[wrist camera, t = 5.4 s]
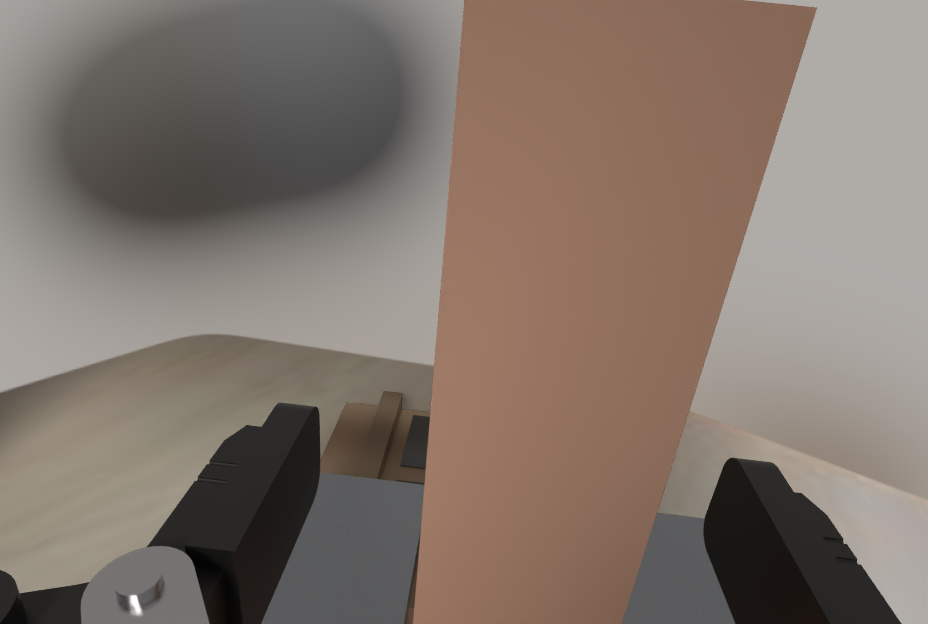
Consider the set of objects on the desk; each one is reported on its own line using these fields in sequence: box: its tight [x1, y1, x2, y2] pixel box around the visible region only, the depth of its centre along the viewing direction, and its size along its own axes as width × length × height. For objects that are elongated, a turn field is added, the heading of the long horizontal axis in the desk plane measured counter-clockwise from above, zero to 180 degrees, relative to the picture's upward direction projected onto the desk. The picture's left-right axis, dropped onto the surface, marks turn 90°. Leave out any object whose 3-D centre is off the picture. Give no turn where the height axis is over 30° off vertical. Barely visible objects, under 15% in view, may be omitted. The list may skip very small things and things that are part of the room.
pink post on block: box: [406, 0, 817, 624], centre depth 10 cm, size 8×8×18 cm
